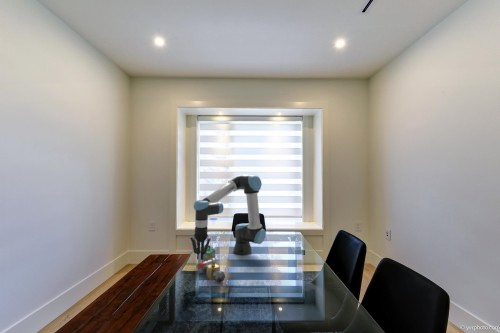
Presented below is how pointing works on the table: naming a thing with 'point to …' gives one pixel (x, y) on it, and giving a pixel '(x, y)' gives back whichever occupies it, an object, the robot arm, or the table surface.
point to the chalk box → (208, 254)
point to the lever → (206, 263)
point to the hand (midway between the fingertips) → (199, 264)
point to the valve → (214, 273)
